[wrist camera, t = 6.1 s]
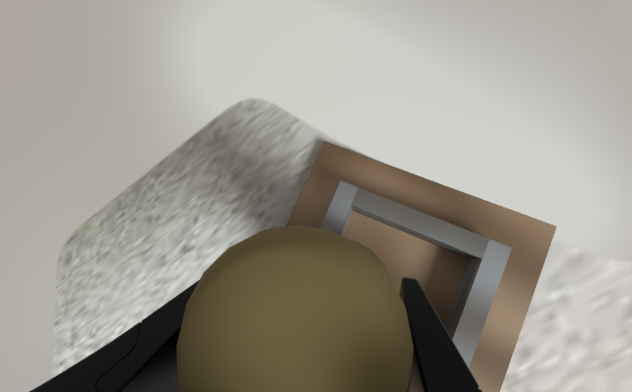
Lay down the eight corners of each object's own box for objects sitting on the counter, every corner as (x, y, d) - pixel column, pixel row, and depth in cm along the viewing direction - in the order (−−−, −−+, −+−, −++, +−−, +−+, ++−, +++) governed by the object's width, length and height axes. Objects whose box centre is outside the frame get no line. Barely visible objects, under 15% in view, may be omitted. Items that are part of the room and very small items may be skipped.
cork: (421, 313, 15) (542, 429, 5) (323, 384, 15) (217, 660, 5) (349, 216, 17) (313, 136, 6) (260, 280, 17) (76, 310, 6)
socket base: (461, 475, 18) (482, 524, 15) (237, 343, 22) (212, 358, 19) (547, 228, 20) (583, 221, 17) (326, 146, 24) (319, 128, 21)
